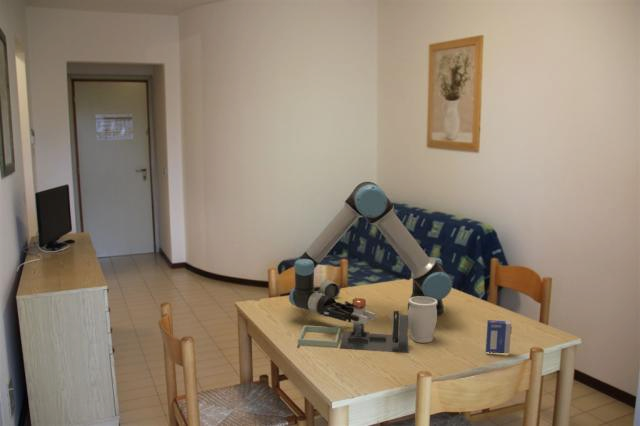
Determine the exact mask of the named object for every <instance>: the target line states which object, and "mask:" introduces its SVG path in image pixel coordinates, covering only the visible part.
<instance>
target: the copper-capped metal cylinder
mask: <svg viewBox="0 0 640 426" xmlns="http://www.w3.org/2000/svg"><path fill="white" fill-rule="evenodd" d="M351 303H352V306H353V307H354V310H353V313H356V314H360V315H363V316H364V310H365V308H366V306H367V305H366V303H367V301H366V299H365V298H362V297H355V298H353V299H352V302H351ZM352 321H353V320H352ZM352 327H353V330H352V331H353V335H355V336H363V335H364V332H365V324H362V323H359V322H356V321H353V325H352Z"/></svg>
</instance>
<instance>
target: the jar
mask: <svg viewBox="0 0 640 426" xmlns="http://www.w3.org/2000/svg"><path fill="white" fill-rule="evenodd" d="M408 302H409V304H410V306H409V310H408V309H407V311H408V312H407V315H408V330H409V332H410V334H411V335H410V337H411V339H413V341H414V342H415V343H421V344H427V342H428V343H430V342H432V341H433V340H434V338H433V337H434V336H433V334H434V332H435V330H436V326H437V325H436V324H437V320H438V316H437V308H436V305H437V303H438V302H437V300H436V299H434V298H431V297H424V296H417V297H412V298H410V297H409V299H408Z"/></svg>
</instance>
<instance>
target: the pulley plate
mask: <svg viewBox="0 0 640 426" xmlns="http://www.w3.org/2000/svg"><path fill="white" fill-rule="evenodd" d="M408 333H409V322H408V314H401V313H400V310H393V312H392V329H391V334H389V333H388V334H387V333H370V332H369V331H364V335H363V336H355V335H353V330H349V331H343V333H342V337H341V341H340V346H339V350H340V349H341V350H354V351H367V352H368V351H372V352H383V353H385V352H386V353H403V354H410V353H409V352H410V350H409V347H410V346H409V335H408Z"/></svg>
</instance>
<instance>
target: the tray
mask: <svg viewBox="0 0 640 426" xmlns="http://www.w3.org/2000/svg"><path fill="white" fill-rule="evenodd" d="M341 330H342V328H341V327H340V326H339V327H338V326H337V327H335V326H323V325H322V326H320V325H319V326H318V325H303V327H302V329H301V331H300V334H299V335H298V337H297V348H300V347H301V346H307V347H308V346H310V347H324V348H326V347H327V348H338V345H339V340H340V336H341V333H342V331H341ZM307 332H310V333H326V334H327V333H329V334H336V335H335V340H326V339H310V338H308V339H307V338H305V335H306V333H307Z"/></svg>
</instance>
